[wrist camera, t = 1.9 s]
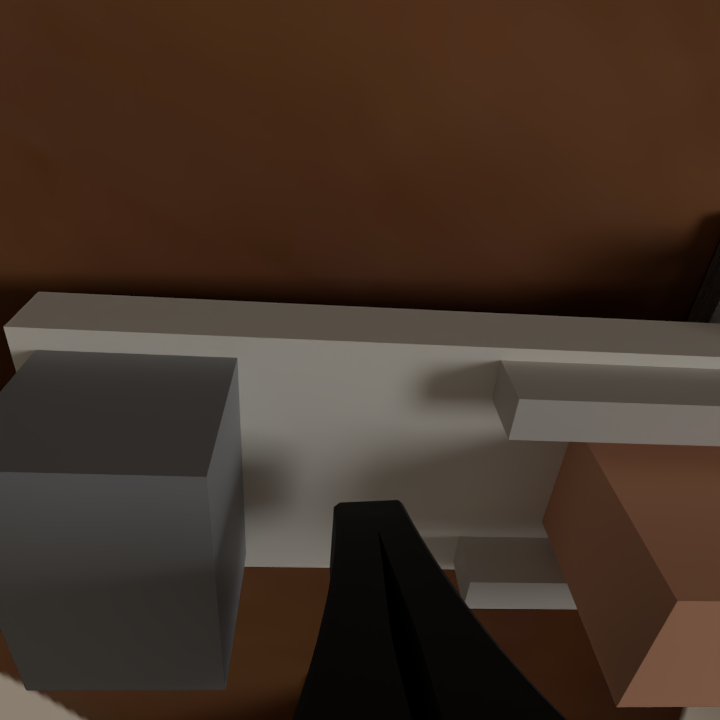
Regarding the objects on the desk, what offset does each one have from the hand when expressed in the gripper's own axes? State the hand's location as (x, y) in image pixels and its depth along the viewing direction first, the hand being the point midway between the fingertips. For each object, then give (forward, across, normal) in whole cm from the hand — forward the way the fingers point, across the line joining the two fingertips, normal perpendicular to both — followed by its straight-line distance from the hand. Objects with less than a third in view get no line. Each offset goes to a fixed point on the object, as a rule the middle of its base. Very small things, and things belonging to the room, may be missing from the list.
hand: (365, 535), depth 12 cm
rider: (+1, -8, 0) cm, 8 cm away
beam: (+3, -9, 0) cm, 10 cm away
